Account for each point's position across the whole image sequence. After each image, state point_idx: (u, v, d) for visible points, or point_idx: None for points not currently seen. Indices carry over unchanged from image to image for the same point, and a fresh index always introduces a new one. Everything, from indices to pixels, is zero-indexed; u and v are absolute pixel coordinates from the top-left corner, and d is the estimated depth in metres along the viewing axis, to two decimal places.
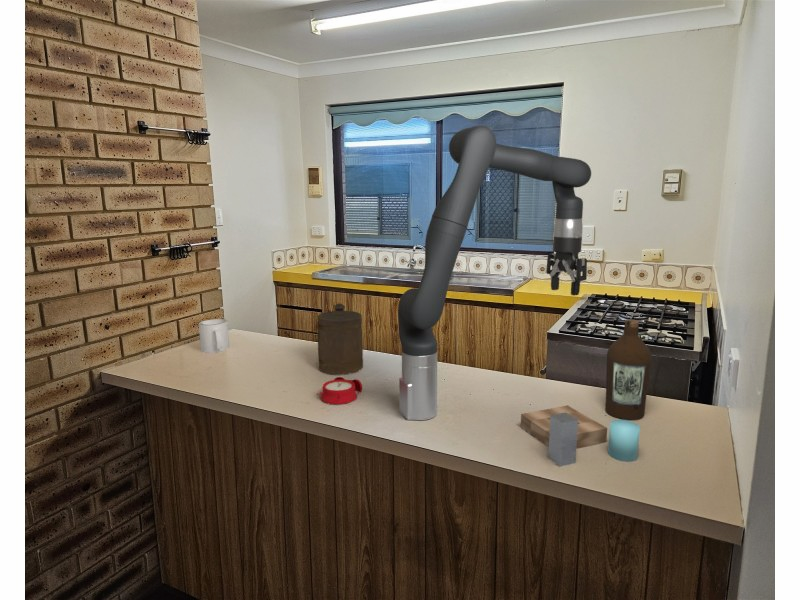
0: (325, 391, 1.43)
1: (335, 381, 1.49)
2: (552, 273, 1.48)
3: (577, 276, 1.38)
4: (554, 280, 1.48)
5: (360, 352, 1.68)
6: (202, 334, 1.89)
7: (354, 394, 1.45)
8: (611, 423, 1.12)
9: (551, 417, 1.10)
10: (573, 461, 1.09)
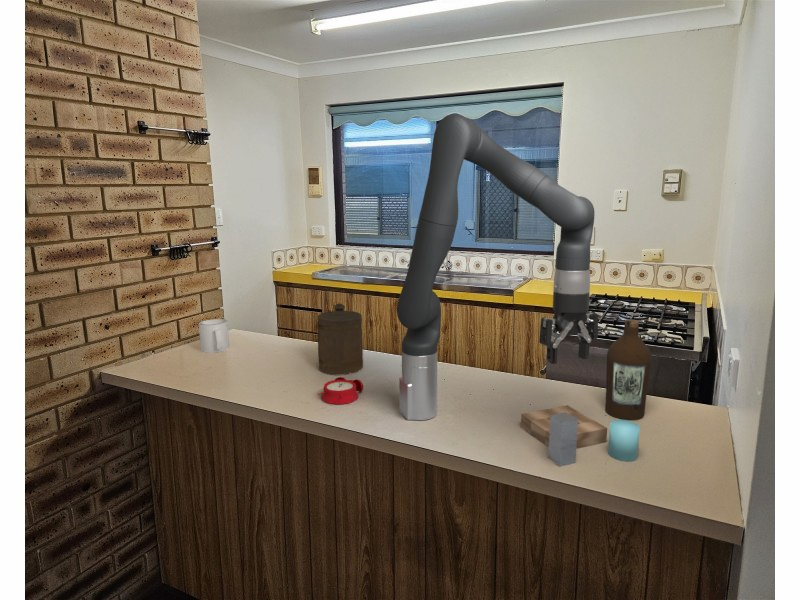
0: (326, 391, 1.43)
1: (336, 381, 1.49)
2: (557, 343, 1.11)
3: (595, 334, 1.15)
4: None
5: (360, 352, 1.68)
6: (202, 334, 1.89)
7: (355, 394, 1.45)
8: (611, 423, 1.12)
9: (551, 417, 1.10)
10: (573, 461, 1.09)
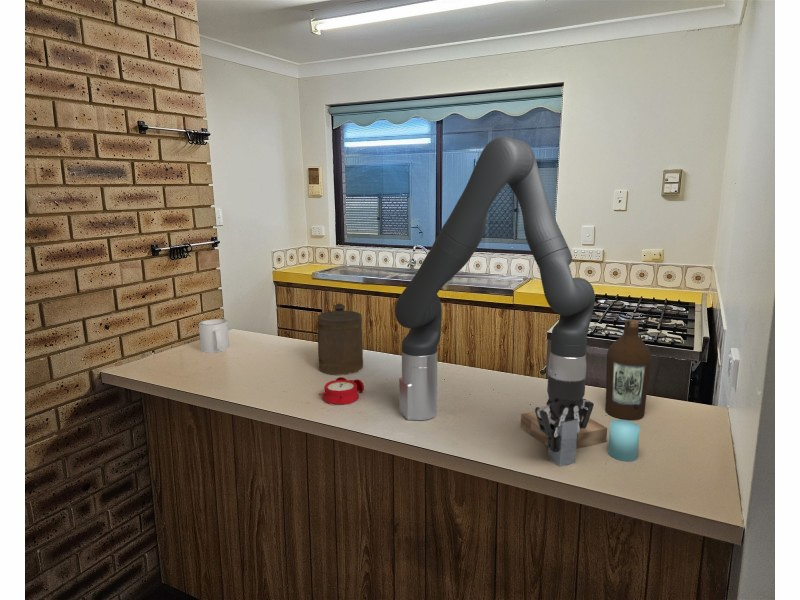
0: (327, 391, 1.43)
1: (337, 381, 1.49)
2: (558, 431, 1.07)
3: (584, 423, 1.10)
4: None
5: (360, 352, 1.68)
6: (202, 334, 1.89)
7: (356, 394, 1.45)
8: (611, 423, 1.12)
9: None
10: (573, 461, 1.09)
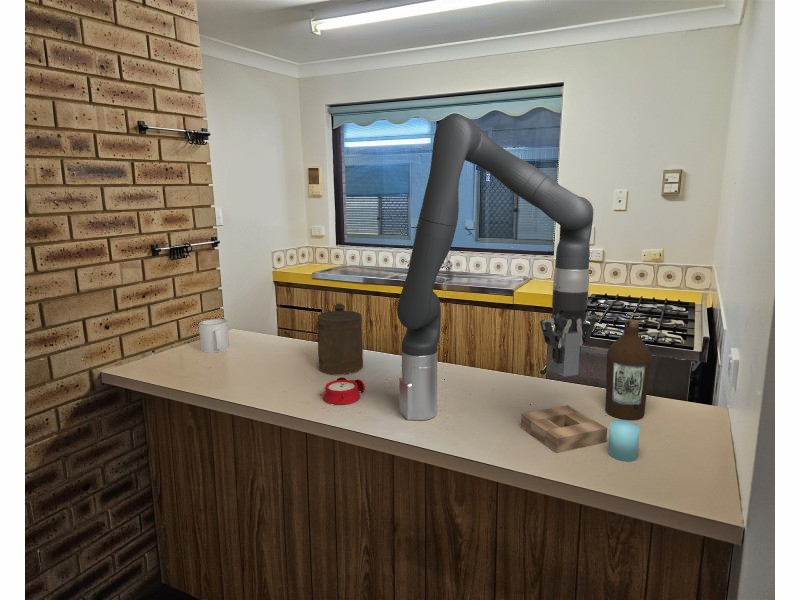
0: (328, 391, 1.42)
1: (337, 381, 1.49)
2: (562, 343, 1.14)
3: (587, 337, 1.16)
4: None
5: (360, 352, 1.68)
6: (202, 334, 1.89)
7: (357, 394, 1.45)
8: (611, 423, 1.12)
9: None
10: (576, 372, 1.16)
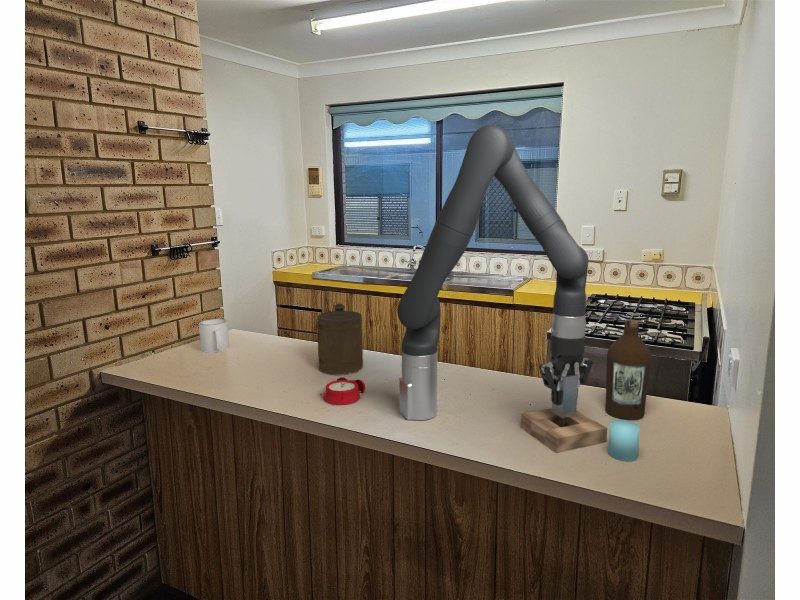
0: (328, 391, 1.42)
1: (338, 381, 1.49)
2: (560, 386, 1.18)
3: (584, 379, 1.20)
4: None
5: (360, 352, 1.68)
6: (202, 334, 1.89)
7: (357, 394, 1.45)
8: (611, 423, 1.13)
9: None
10: (574, 413, 1.20)
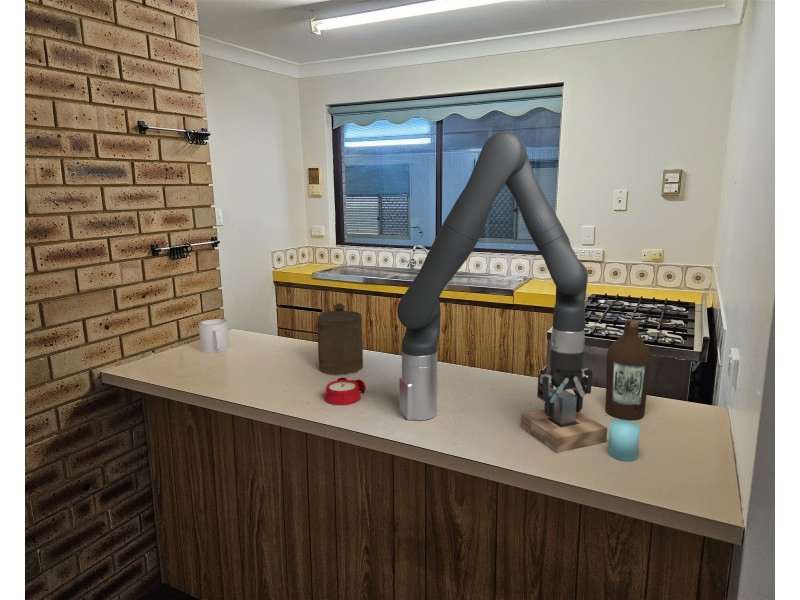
0: (329, 392, 1.42)
1: (338, 381, 1.49)
2: (554, 398, 1.18)
3: (588, 389, 1.22)
4: None
5: (360, 352, 1.68)
6: (202, 334, 1.89)
7: (358, 394, 1.45)
8: (611, 423, 1.12)
9: None
10: None
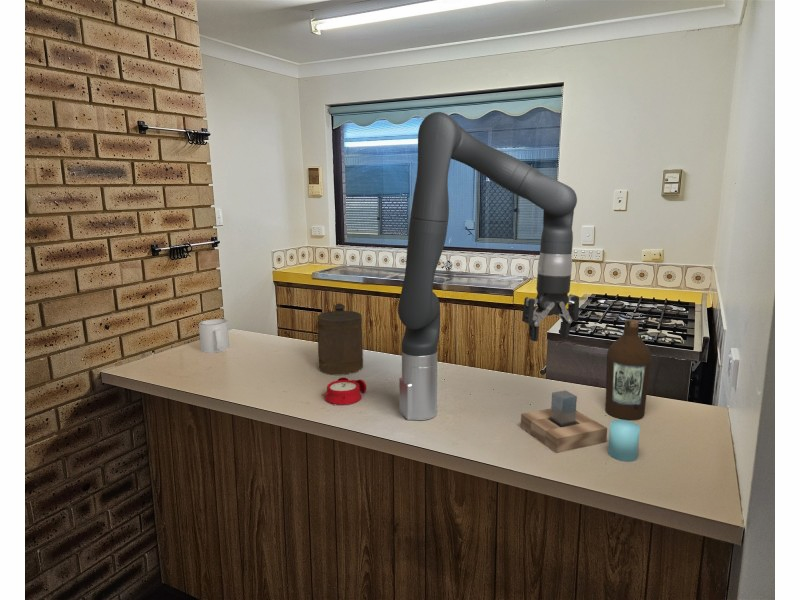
0: (330, 392, 1.42)
1: (339, 381, 1.49)
2: (538, 321, 1.19)
3: (575, 315, 1.22)
4: None
5: (360, 352, 1.68)
6: (202, 334, 1.89)
7: (359, 394, 1.45)
8: (611, 423, 1.12)
9: (552, 394, 1.22)
10: None
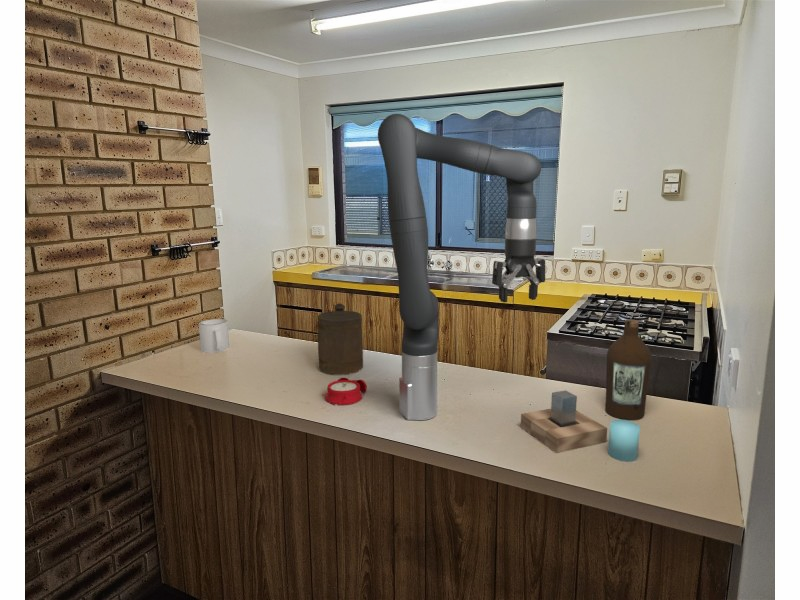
0: (330, 392, 1.42)
1: (339, 382, 1.49)
2: (507, 283, 1.27)
3: (542, 278, 1.30)
4: None
5: (360, 352, 1.68)
6: (202, 334, 1.89)
7: (359, 394, 1.45)
8: (611, 423, 1.12)
9: (552, 394, 1.22)
10: None
